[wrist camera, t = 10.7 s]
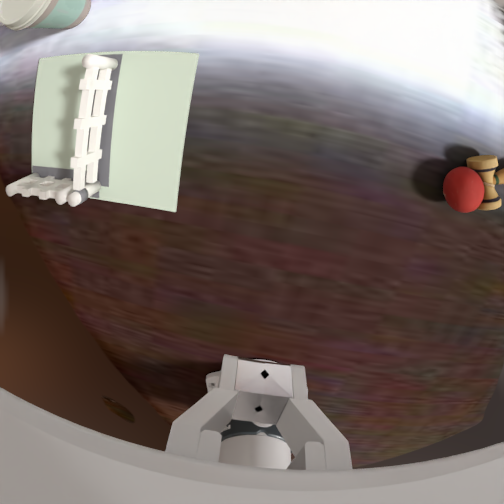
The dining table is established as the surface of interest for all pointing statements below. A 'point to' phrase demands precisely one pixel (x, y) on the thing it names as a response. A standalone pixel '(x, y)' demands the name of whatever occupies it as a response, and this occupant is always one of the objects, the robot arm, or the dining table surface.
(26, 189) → the fence fixed
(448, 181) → the kendama
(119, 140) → the card
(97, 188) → the white toy fence
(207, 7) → the dining table surface
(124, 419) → the dining table surface
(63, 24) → the coffee cup
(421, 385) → the dining table surface
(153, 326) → the dining table surface
